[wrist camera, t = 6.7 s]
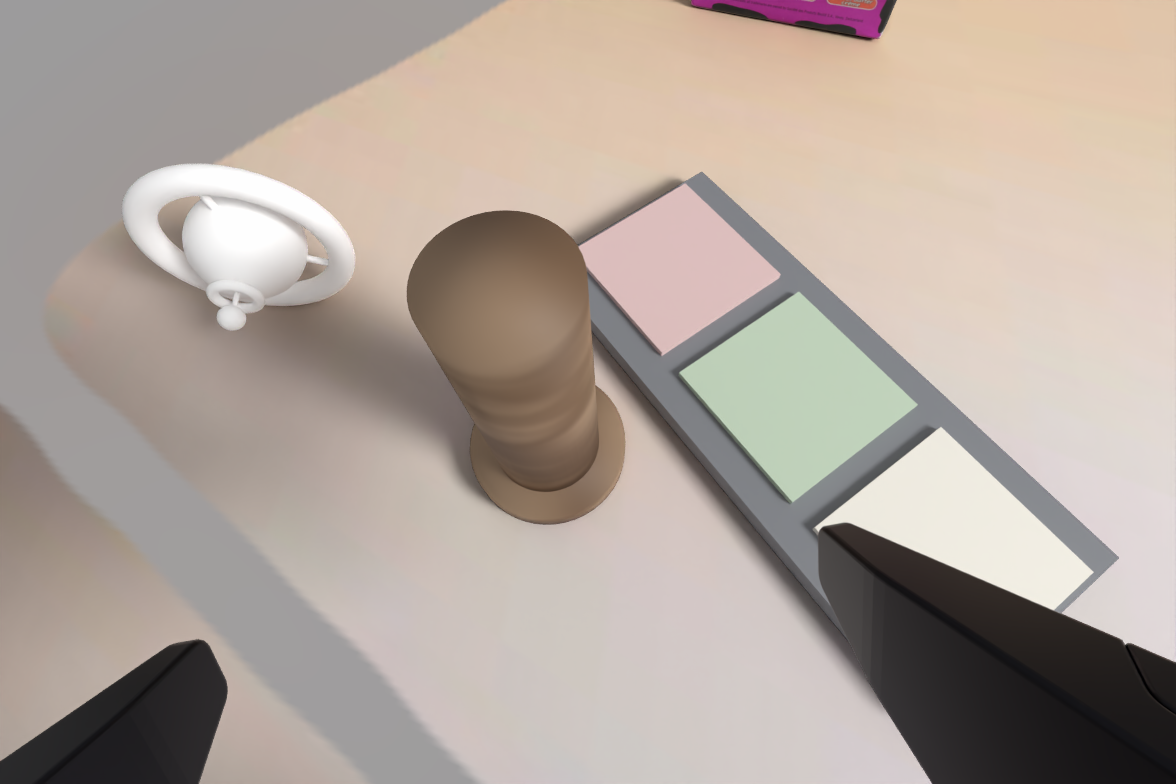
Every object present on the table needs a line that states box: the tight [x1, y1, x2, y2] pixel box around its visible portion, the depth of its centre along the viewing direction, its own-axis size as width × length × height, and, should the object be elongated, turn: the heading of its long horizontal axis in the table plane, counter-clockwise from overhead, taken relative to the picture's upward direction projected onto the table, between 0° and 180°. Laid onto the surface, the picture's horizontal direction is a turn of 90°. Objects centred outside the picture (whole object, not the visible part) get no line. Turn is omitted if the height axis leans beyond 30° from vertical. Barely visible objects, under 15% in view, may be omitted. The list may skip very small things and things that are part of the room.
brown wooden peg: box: [407, 211, 625, 525], centre depth 18 cm, size 6×6×12 cm
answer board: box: [578, 172, 1119, 639], centre depth 23 cm, size 9×22×1 cm, turn 35°
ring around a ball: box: [122, 164, 355, 331], centre depth 23 cm, size 8×6×8 cm
